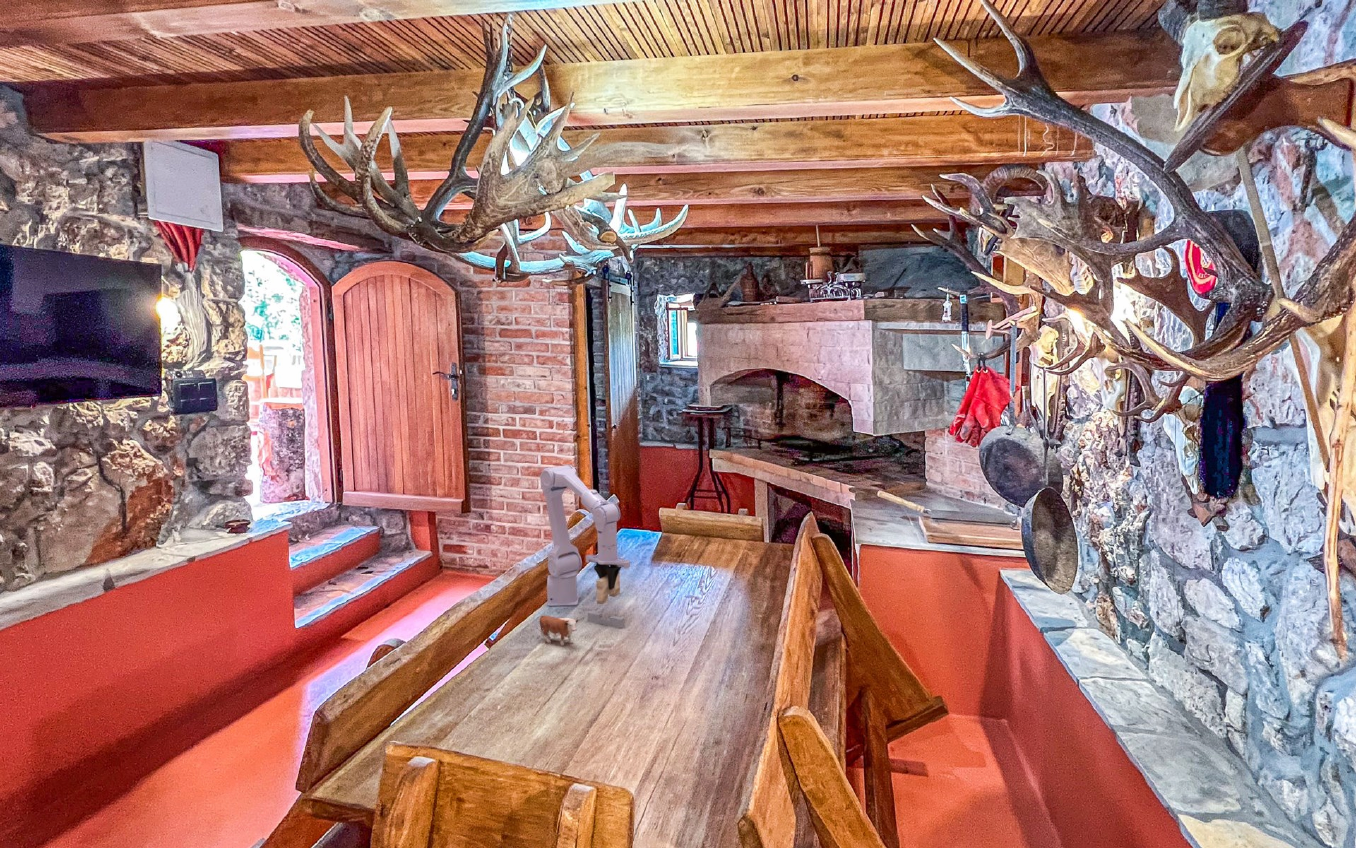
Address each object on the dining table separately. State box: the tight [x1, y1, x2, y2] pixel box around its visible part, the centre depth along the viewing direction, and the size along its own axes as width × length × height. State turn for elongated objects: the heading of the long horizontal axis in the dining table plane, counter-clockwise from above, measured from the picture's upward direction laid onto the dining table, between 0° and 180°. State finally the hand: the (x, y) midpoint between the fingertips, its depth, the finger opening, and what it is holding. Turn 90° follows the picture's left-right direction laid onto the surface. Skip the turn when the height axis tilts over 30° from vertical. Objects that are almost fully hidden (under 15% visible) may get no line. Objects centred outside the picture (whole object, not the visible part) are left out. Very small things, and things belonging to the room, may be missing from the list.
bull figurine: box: [539, 614, 579, 647], centre depth 211 cm, size 4×13×8 cm, turn 58°
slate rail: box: [586, 610, 626, 629], centre depth 224 cm, size 12×2×3 cm, turn 62°
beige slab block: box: [595, 571, 621, 605], centre depth 226 cm, size 10×2×7 cm, turn 152°
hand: (608, 588), depth 226 cm, fingers closed on beige slab block, 2 cm apart
